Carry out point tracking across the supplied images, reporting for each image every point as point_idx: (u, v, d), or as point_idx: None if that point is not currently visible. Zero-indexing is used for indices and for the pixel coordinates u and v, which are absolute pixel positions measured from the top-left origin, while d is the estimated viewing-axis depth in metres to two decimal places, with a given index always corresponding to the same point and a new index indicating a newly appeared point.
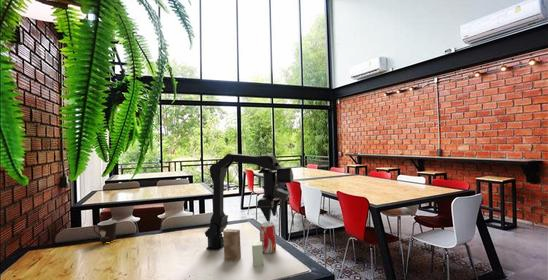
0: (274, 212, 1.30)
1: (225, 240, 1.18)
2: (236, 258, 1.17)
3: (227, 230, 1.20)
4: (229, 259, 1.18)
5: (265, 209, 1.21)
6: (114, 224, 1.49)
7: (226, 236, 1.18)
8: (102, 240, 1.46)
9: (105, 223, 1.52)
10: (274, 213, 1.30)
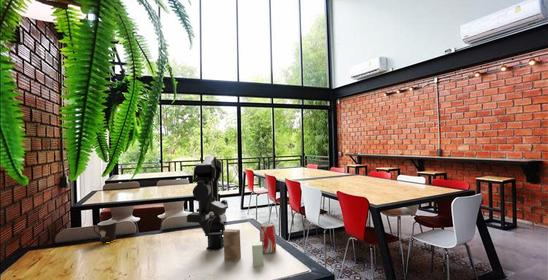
0: None
1: (225, 240, 1.18)
2: (236, 258, 1.17)
3: (227, 230, 1.20)
4: (229, 259, 1.18)
5: (203, 222, 1.11)
6: (114, 224, 1.49)
7: (226, 236, 1.18)
8: (102, 240, 1.46)
9: (105, 223, 1.52)
10: None
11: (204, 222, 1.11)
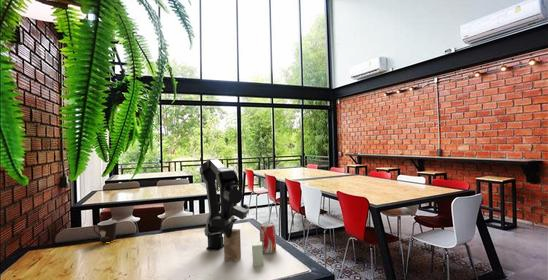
0: None
1: (225, 239, 1.19)
2: (236, 258, 1.17)
3: None
4: (229, 259, 1.18)
5: (225, 225, 1.16)
6: (114, 224, 1.49)
7: None
8: (102, 240, 1.46)
9: (105, 223, 1.52)
10: None
11: (226, 226, 1.16)
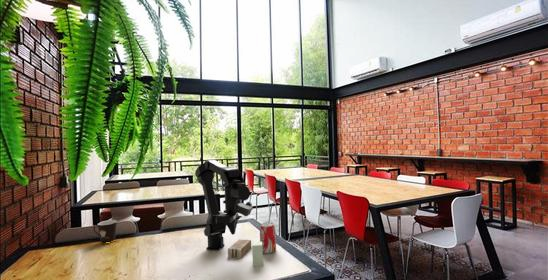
0: None
1: (237, 242, 1.30)
2: (240, 248, 1.22)
3: None
4: (233, 248, 1.22)
5: (229, 222, 1.20)
6: (114, 224, 1.49)
7: (240, 240, 1.31)
8: (102, 240, 1.46)
9: (105, 223, 1.52)
10: None
11: (231, 223, 1.20)
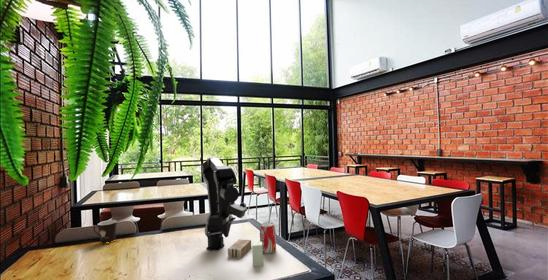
0: None
1: (237, 242, 1.30)
2: (240, 248, 1.22)
3: None
4: (233, 248, 1.22)
5: (222, 224, 1.13)
6: (114, 224, 1.49)
7: (240, 240, 1.31)
8: (102, 240, 1.46)
9: (105, 223, 1.52)
10: None
11: (224, 225, 1.13)
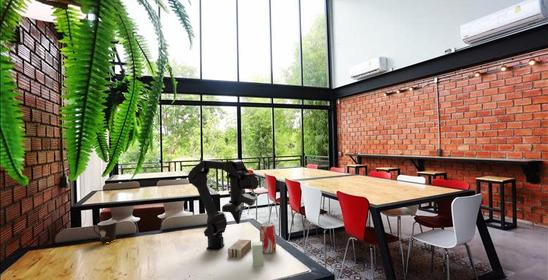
0: None
1: (237, 242, 1.30)
2: (240, 248, 1.22)
3: None
4: (233, 248, 1.22)
5: (235, 212, 1.25)
6: (114, 224, 1.49)
7: (240, 240, 1.31)
8: (102, 240, 1.46)
9: (105, 223, 1.52)
10: None
11: (236, 212, 1.25)
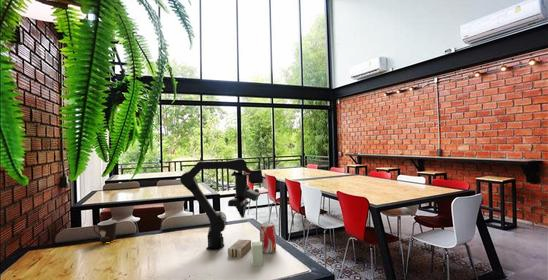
0: None
1: (237, 242, 1.30)
2: (240, 248, 1.22)
3: None
4: (233, 248, 1.22)
5: (239, 206, 1.35)
6: (114, 224, 1.49)
7: (240, 240, 1.31)
8: (102, 240, 1.46)
9: (105, 223, 1.52)
10: None
11: (240, 207, 1.35)
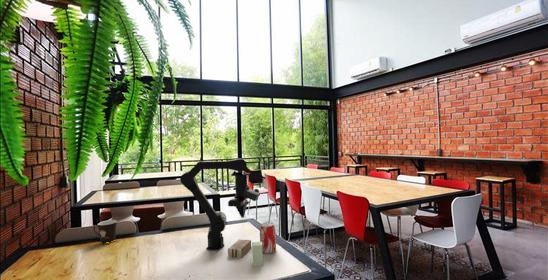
0: None
1: (237, 242, 1.30)
2: (240, 248, 1.22)
3: None
4: (233, 248, 1.22)
5: (239, 206, 1.35)
6: (114, 224, 1.49)
7: (240, 240, 1.31)
8: (102, 240, 1.46)
9: (105, 223, 1.52)
10: None
11: (240, 207, 1.35)
